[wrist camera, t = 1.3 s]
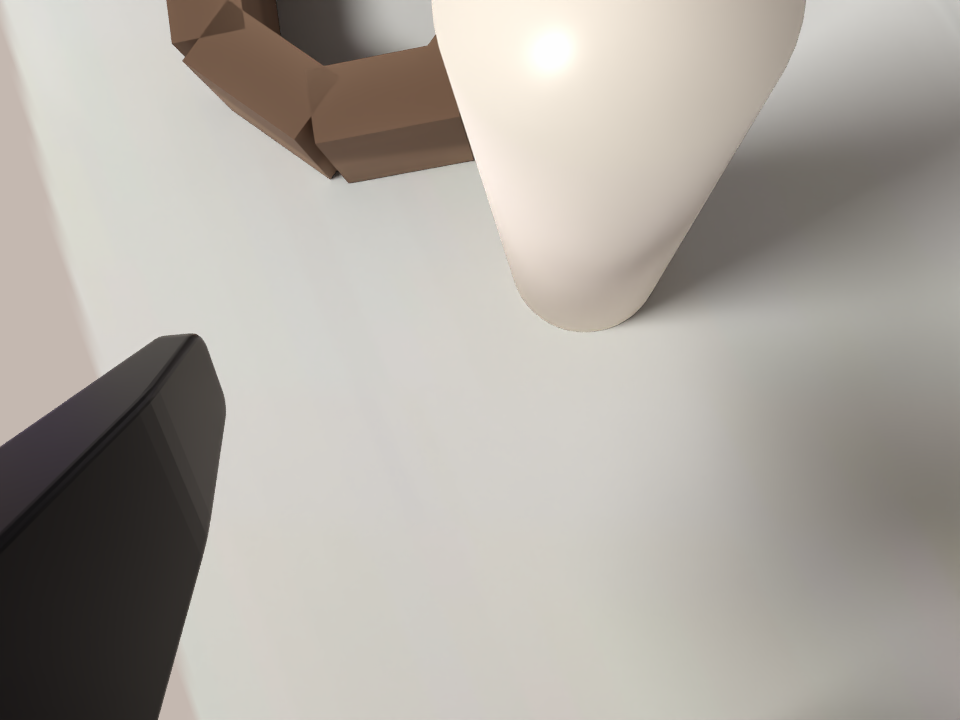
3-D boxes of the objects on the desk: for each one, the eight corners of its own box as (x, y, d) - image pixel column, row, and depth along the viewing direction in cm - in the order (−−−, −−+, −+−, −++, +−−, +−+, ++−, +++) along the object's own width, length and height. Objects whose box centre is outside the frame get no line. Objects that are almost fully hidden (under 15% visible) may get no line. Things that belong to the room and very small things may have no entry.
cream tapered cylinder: (602, 361, 21) (661, 243, 8) (482, 276, 22) (360, 38, 9) (690, 240, 21) (882, -65, 8) (567, 158, 22) (572, -251, 9)
